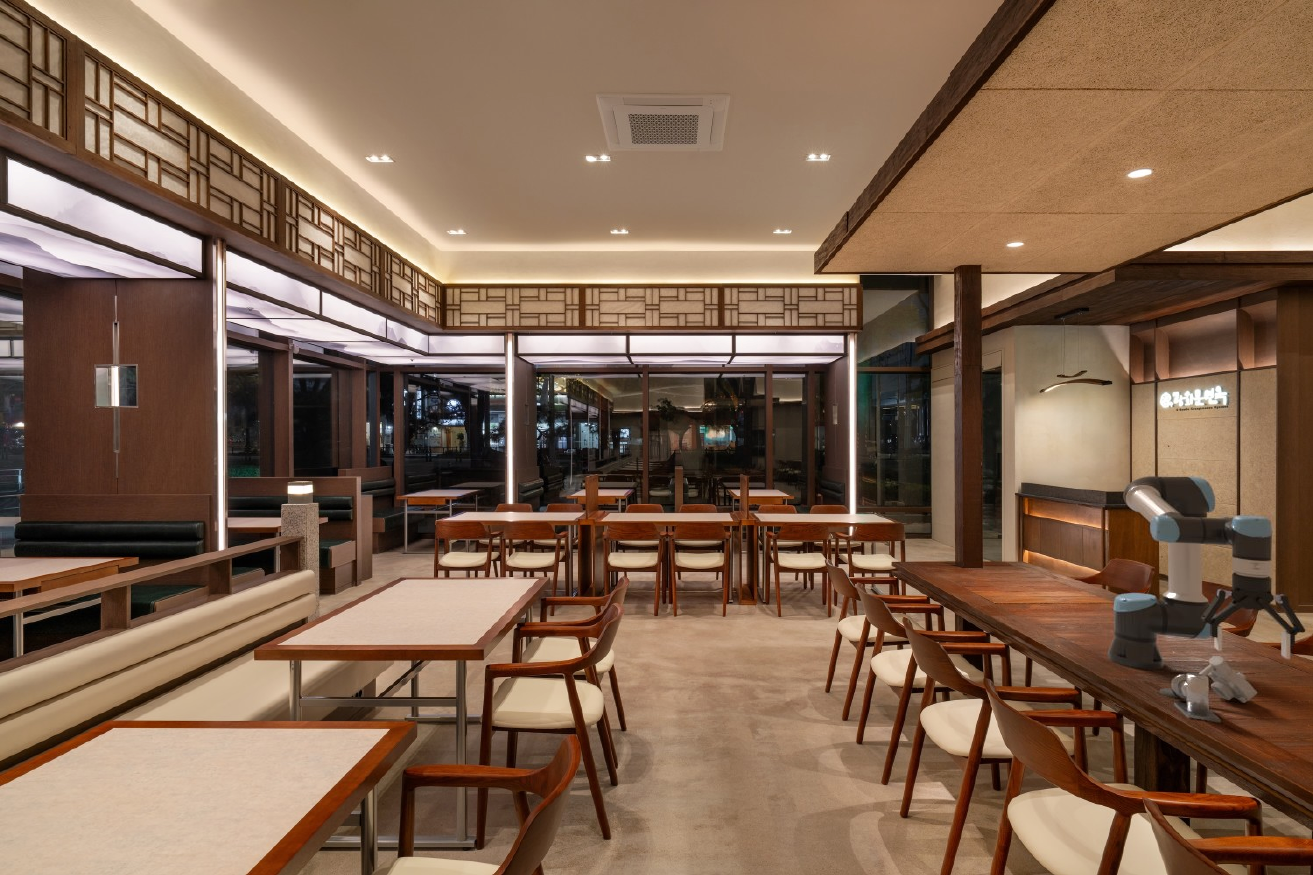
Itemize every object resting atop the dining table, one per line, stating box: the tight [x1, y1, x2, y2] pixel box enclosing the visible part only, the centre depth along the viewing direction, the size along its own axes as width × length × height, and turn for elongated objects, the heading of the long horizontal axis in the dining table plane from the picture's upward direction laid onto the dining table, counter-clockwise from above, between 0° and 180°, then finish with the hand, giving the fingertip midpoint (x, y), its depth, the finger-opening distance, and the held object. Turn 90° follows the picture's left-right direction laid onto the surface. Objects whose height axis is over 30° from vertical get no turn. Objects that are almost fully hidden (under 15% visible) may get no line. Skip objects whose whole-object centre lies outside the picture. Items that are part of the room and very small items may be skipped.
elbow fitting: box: [1170, 672, 1222, 723], centre depth 171 cm, size 12×7×11 cm, turn 159°
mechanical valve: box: [1171, 655, 1258, 704], centre depth 179 cm, size 10×18×15 cm
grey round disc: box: [1159, 688, 1181, 700], centre depth 183 cm, size 6×6×1 cm
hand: (1251, 653), depth 162 cm, fingers open, 13 cm apart
